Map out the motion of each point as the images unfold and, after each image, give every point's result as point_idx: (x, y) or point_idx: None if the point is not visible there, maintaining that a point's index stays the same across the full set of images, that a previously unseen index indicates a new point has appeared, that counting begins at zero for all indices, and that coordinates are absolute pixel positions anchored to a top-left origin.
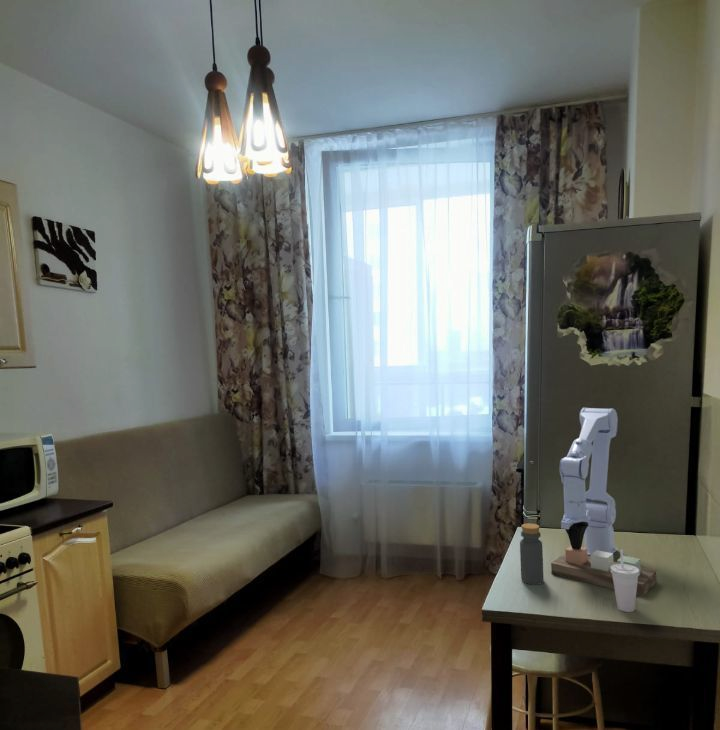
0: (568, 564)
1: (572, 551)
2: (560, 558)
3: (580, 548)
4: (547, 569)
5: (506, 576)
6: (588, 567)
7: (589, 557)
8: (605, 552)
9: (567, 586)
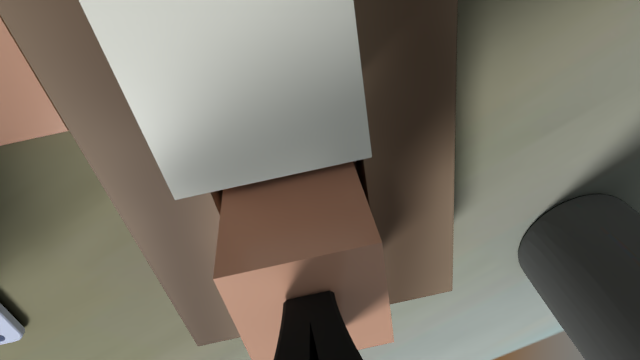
0: (406, 226)
1: (385, 296)
2: None
3: (296, 298)
4: None
5: None
6: None
7: (151, 226)
8: (150, 86)
9: (563, 83)
